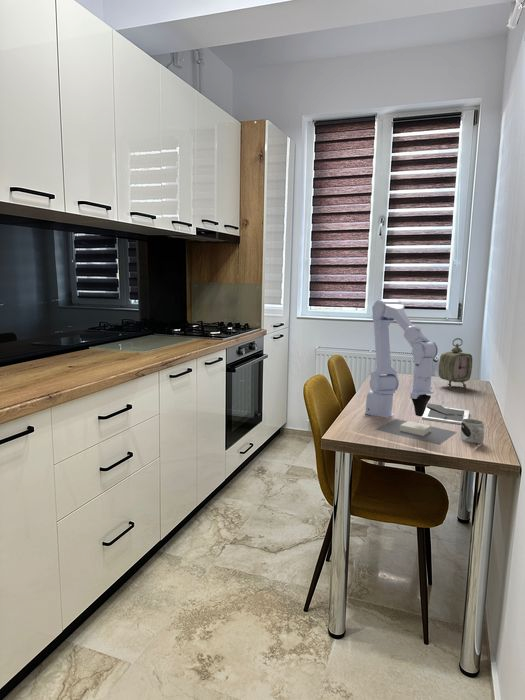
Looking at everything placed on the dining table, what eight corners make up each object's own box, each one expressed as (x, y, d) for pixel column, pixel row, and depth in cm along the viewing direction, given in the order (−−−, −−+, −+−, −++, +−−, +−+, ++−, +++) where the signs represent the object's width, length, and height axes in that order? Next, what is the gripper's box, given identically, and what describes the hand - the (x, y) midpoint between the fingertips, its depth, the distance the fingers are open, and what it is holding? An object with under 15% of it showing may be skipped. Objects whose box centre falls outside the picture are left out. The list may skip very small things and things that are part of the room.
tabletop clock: (449, 390, 235) (454, 339, 231) (435, 386, 243) (439, 337, 239) (469, 388, 241) (474, 338, 238) (455, 384, 249) (459, 336, 246)
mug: (456, 437, 160) (458, 418, 159) (475, 438, 160) (477, 418, 159) (471, 448, 150) (473, 427, 149) (491, 448, 150) (493, 428, 149)
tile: (407, 426, 168) (399, 430, 163) (408, 420, 168) (400, 425, 163) (430, 431, 163) (423, 436, 158) (431, 425, 163) (423, 430, 158)
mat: (374, 430, 163) (374, 429, 163) (395, 420, 177) (396, 418, 177) (439, 446, 150) (439, 444, 150) (456, 433, 164) (457, 432, 164)
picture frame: (427, 409, 198) (421, 422, 179) (428, 403, 197) (422, 414, 179) (468, 415, 191) (466, 429, 173) (469, 408, 191) (467, 421, 172)
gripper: (426, 381, 154) (423, 422, 156) (441, 375, 166) (437, 413, 168) (405, 378, 159) (402, 418, 161) (421, 372, 170) (418, 410, 172)
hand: (419, 415), depth 164 cm, fingers closed
